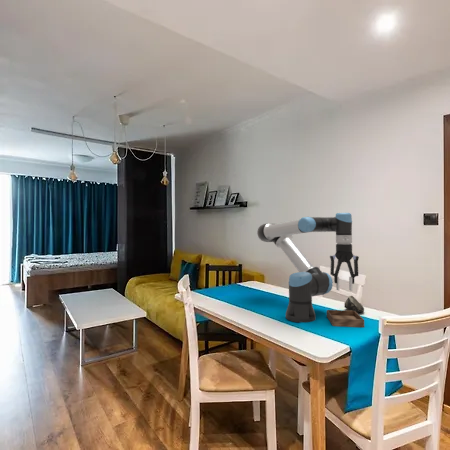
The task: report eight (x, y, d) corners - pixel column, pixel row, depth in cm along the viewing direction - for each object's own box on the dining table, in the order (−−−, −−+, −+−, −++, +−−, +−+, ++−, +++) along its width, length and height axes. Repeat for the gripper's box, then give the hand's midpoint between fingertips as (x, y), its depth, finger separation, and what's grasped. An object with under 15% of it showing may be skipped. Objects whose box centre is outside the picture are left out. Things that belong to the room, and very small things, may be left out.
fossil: (368, 312, 158) (358, 296, 159) (352, 320, 160) (342, 303, 160) (362, 307, 169) (353, 291, 170) (347, 314, 170) (338, 298, 171)
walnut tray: (332, 326, 141) (332, 318, 141) (326, 316, 156) (326, 309, 156) (364, 327, 139) (364, 319, 139) (355, 317, 154) (354, 310, 154)
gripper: (326, 244, 146) (326, 291, 146) (365, 244, 143) (366, 292, 143) (323, 243, 153) (323, 288, 153) (361, 243, 150) (361, 288, 150)
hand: (344, 289), depth 148 cm, fingers open, 5 cm apart
